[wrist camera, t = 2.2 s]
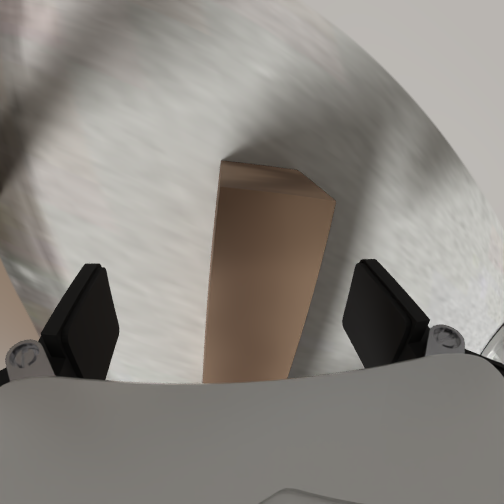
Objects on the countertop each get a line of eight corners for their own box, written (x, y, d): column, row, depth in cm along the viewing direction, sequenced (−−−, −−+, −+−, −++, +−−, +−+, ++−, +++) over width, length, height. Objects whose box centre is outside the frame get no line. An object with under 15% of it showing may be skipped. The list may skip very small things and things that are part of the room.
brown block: (297, 169, 16) (336, 201, 10) (250, 396, 23) (258, 457, 18) (220, 159, 15) (219, 186, 10) (201, 394, 23) (200, 457, 17)
